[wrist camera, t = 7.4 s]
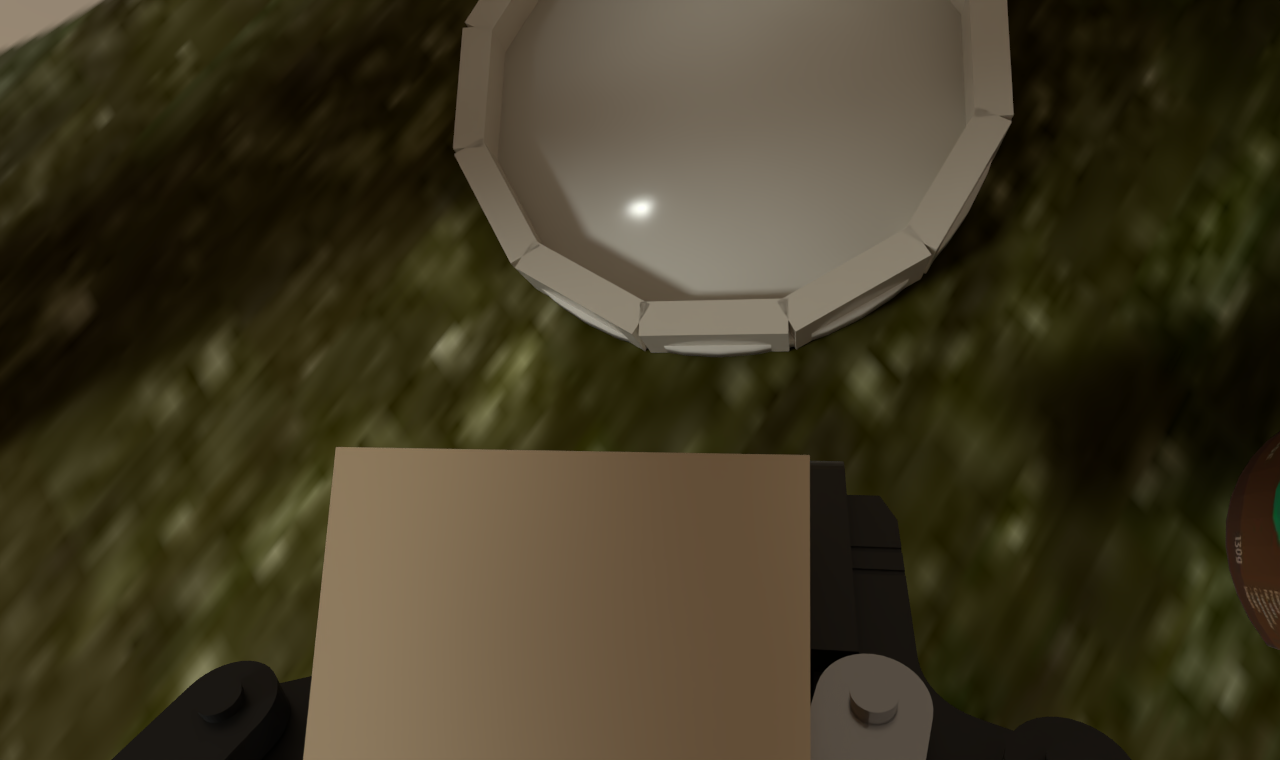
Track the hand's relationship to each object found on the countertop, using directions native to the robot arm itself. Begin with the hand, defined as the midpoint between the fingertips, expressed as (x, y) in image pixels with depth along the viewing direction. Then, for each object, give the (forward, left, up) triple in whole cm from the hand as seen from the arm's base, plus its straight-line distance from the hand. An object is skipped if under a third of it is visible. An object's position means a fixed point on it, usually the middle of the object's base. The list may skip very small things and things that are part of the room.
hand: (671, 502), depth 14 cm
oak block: (0, -2, -5) cm, 5 cm away
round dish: (-1, +16, -16) cm, 23 cm away
